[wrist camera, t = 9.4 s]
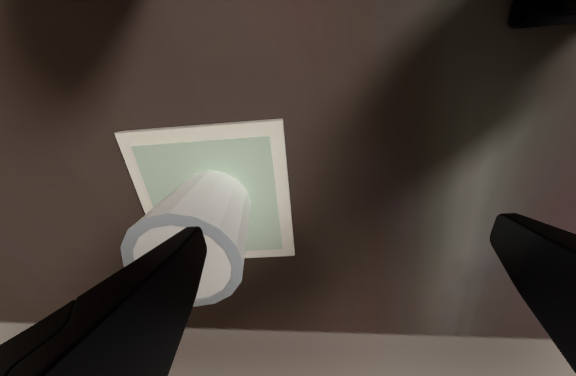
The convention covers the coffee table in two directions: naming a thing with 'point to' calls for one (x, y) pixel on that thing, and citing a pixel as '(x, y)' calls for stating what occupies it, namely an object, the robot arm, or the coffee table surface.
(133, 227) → the white-topped cylinder
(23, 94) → the coffee table surface
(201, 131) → the plate
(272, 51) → the coffee table surface
